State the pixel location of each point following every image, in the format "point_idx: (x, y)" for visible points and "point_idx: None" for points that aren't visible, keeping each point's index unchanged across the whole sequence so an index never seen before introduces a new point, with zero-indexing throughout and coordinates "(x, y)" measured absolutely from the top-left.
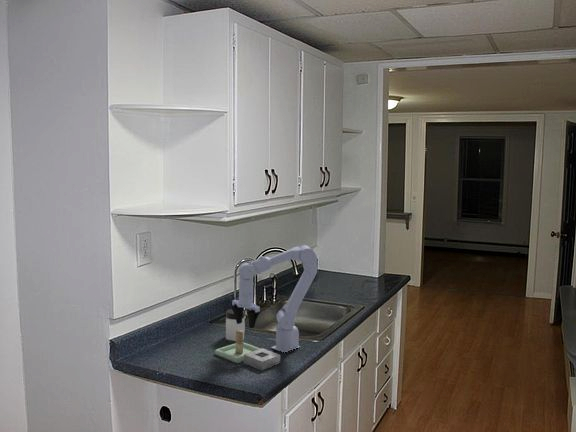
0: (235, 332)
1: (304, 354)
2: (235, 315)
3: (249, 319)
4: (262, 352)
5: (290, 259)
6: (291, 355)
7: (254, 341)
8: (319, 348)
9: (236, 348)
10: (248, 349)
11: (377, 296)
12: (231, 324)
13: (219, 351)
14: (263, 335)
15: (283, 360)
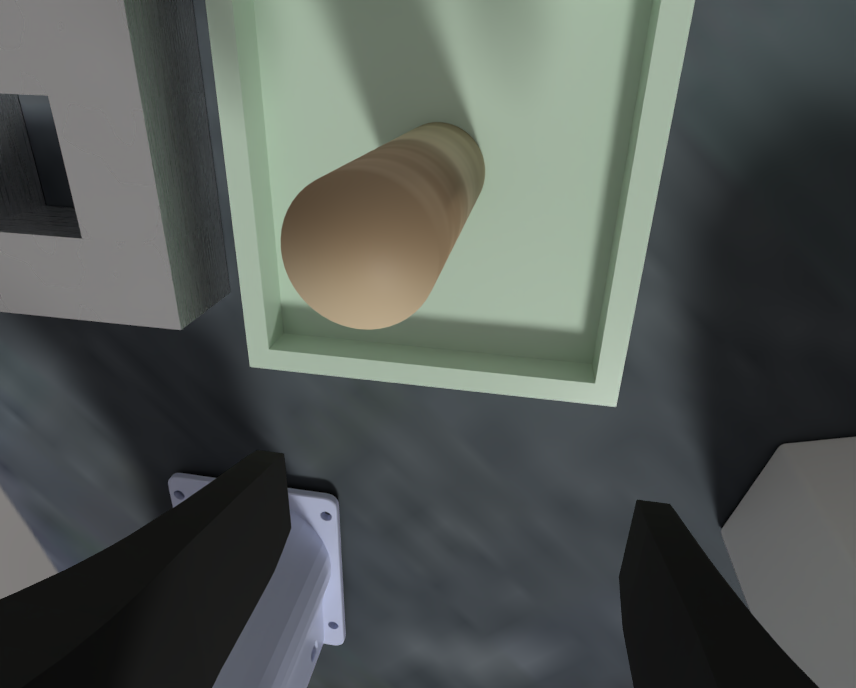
0: (817, 521)
1: (84, 535)
2: (750, 651)
3: (131, 564)
4: (81, 237)
5: None
6: (115, 469)
7: (590, 544)
8: None
9: (424, 129)
10: (442, 328)
11: None
12: None
13: None
14: (627, 682)
15: (54, 348)
